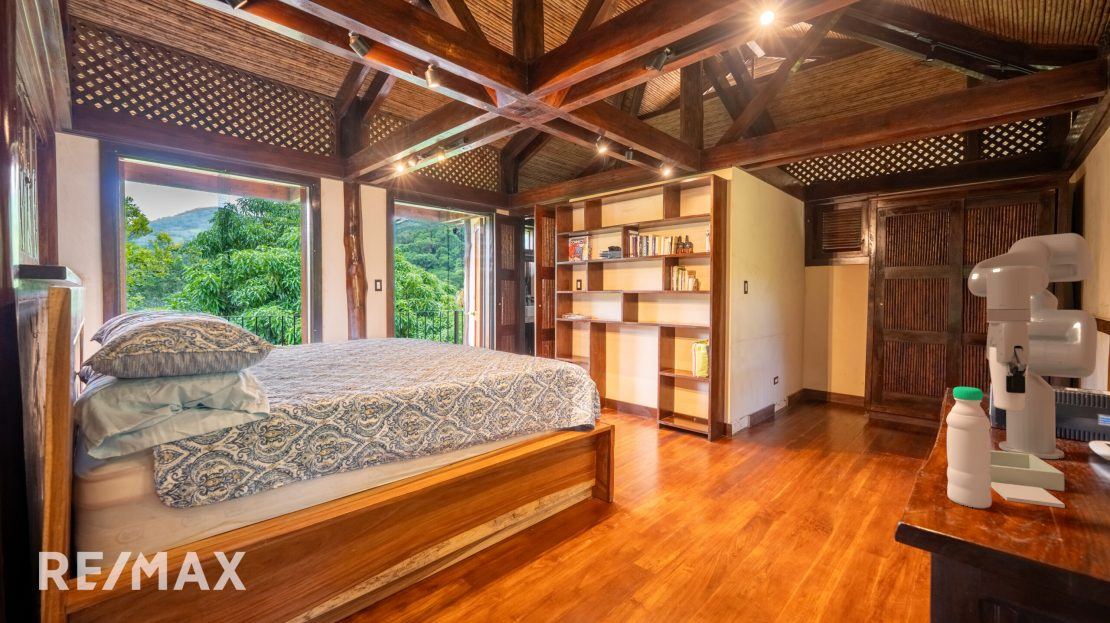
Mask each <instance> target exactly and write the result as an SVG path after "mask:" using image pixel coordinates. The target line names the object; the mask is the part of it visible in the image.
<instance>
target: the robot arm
mask: <svg viewBox="0 0 1110 623" xmlns="http://www.w3.org/2000/svg"><path fill="white" fill-rule="evenodd" d="M1093 269H1094V263H1093V258H1092V254H1091V250H1090V247H1089V244H1088V241H1087V240H1086V239H1085V238H1084V237H1083V236H1081V235H1080V234H1078V233H1075V232H1068V233H1066V232H1065V233H1056V234H1046V235H1035V236H1029V237H1024V238H1021V239H1019V240H1017V241H1016V242H1014V243H1013V244H1012V245H1011V247H1010V248H1009V249H1008V252H1006V253H1002V254H1000V255H997V256H994V257H990V258H988V259H985V260H982V261H979V262H978V263H977V264H976V265H975V266H974V267H973V269H971V272H970V273H969V276H968V280H967V287H968V289H969V291H970V293H971V294H972V295H974V296H976V297H982V298H985V297H986V323H988V327H987V328H988V329H987V336H986V337H987V338H986V354H985V355H986V356H985V357H986V359H987V360H988V361H989V347H994V348H996V349H997V350H996V360H997V362H998V363H1000V364H1005V363H1006V362H1007V372H1008V376H1006V392H1008V393H1023V394H1024V393H1025V377H1026V372H1025V371H1026V367H1027V365H1028V362H1029V366H1028V376H1027V384H1026V394H1025V408H1024V410H1020V411H1014V410H1005V413H1006V418H1005V419H1006V421H1005V423H1006V428H1005V429H1006V434H1005V435H1006V440H1004V441H1000V442H999V443H998V448H1000V449H1001V451H1002V450H1003V451H1004V452H1013V453H1024V454H1033V455H1034V456H1036V457H1038V458H1039V459H1044V460H1045V459H1046V460H1059V458H1060V459H1063V458H1065V453H1064V451H1062V450H1060V449H1059V448H1057V447H1056V393H1055V389H1054V388H1053V387H1052V386H1051V384H1049V383H1048V382H1047V380H1045V379H1044V378H1043V377H1061V378H1072V379H1073V378H1074V379H1076V378H1078V379H1083V378H1084V379H1085V378H1088V377H1091V376H1092V375H1093V374H1094V372H1095V369H1096V363H1097V362H1096V361H1097V348H1098V347H1097V342H1098V326H1097V320H1096V318H1095V316H1094V315H1093V314H1092V313H1090V312H1089V311H1086V310H1080V309H1058V303H1059V300H1058V298H1057V297H1056V296H1055V295H1054V294H1053V293H1052V292H1051V291H1049V289H1047V288H1048V287H1049V284H1050V283H1059V282H1062V283H1063V282H1064V283H1065V282H1066V283H1067V282H1080V281H1084V280H1086V279H1088V278H1089V277H1090V276H1091V275H1092V273H1093ZM1011 359H1016V360H1017V363H1010V360H1011ZM1012 366H1014V367H1013V370H1012Z"/></svg>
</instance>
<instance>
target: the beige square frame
mask: <svg viewBox="0 0 1110 623" xmlns="http://www.w3.org/2000/svg"><path fill="white" fill-rule="evenodd" d="M990 475H991V482H995V483H1004V484H1013V485H1021V486H1030V487H1038V488H1043V489H1044V490H1049V491H1050V490H1051V491H1060V492H1065V473H1064V472H1063V471H1061V470H1059V469H1057V468H1056V467H1054V466H1053V465H1051V464H1049V463H1048V462H1046V461H1044V460H1042V458H1038V457H1036V456H1034V455H1033V454H1024V453H1013V452H1007V451H1004V450H1003V451H1002V450H1001V451H999V450H992V449H991V465H990Z"/></svg>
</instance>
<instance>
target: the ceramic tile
mask: <svg viewBox="0 0 1110 623" xmlns="http://www.w3.org/2000/svg"><path fill="white" fill-rule="evenodd" d="M990 488H991V489H992V490H994V491H995V492H996V493H997V494H999V495H1000V497H1002V498H1003V499H1004V500H1005V501H1006V502H1014V503H1021V504H1022V503H1023V504H1028V505H1039V506H1046V507H1052V508H1053V507H1055V508H1062V509H1065V508H1066V506H1065V503H1063V502H1062V501H1061V500H1059V498H1056V497H1055V496H1054V495H1052V494H1050V492H1048V491H1047V490H1046V489H1043V488H1038V487H1030V486H1021V485H1013V484H1004V483H995V482H991V487H990Z"/></svg>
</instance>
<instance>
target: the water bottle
mask: <svg viewBox="0 0 1110 623" xmlns="http://www.w3.org/2000/svg"><path fill="white" fill-rule="evenodd" d="M952 395H953V399H954V400H955V404H954V406H952V408H951V410H950V411H949V413H948V414H947V417H946V424H947V430H946V456H947V458H946V460H947V465H948V466H947V469H946V476H947V487H946V490H947V491H946V492H947V497H948V498H949V500H951V501H952V502H953V503H956V504H957V505H961V506H963V505H964V507H967V506H968V508H972V507H973V508H974V509H987V508H990V507H991V506H992V503H993V502H992V490H991V488H992V487H991V475H990V465H991V450H992V447H991V446H992V445H991V442H992V441H991V435H990V430H991V427H992V426H991V422H990V421H991V420H990V419H989V417H988V416H987V415H986V412H985V410H984V409H983V407H981V403H982V402H983V399H984V393H983V391H982V389H980V388H978V387H977V388H976V387H972V386H971V387H970V386H956V387H954V388H953V390H952Z"/></svg>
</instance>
